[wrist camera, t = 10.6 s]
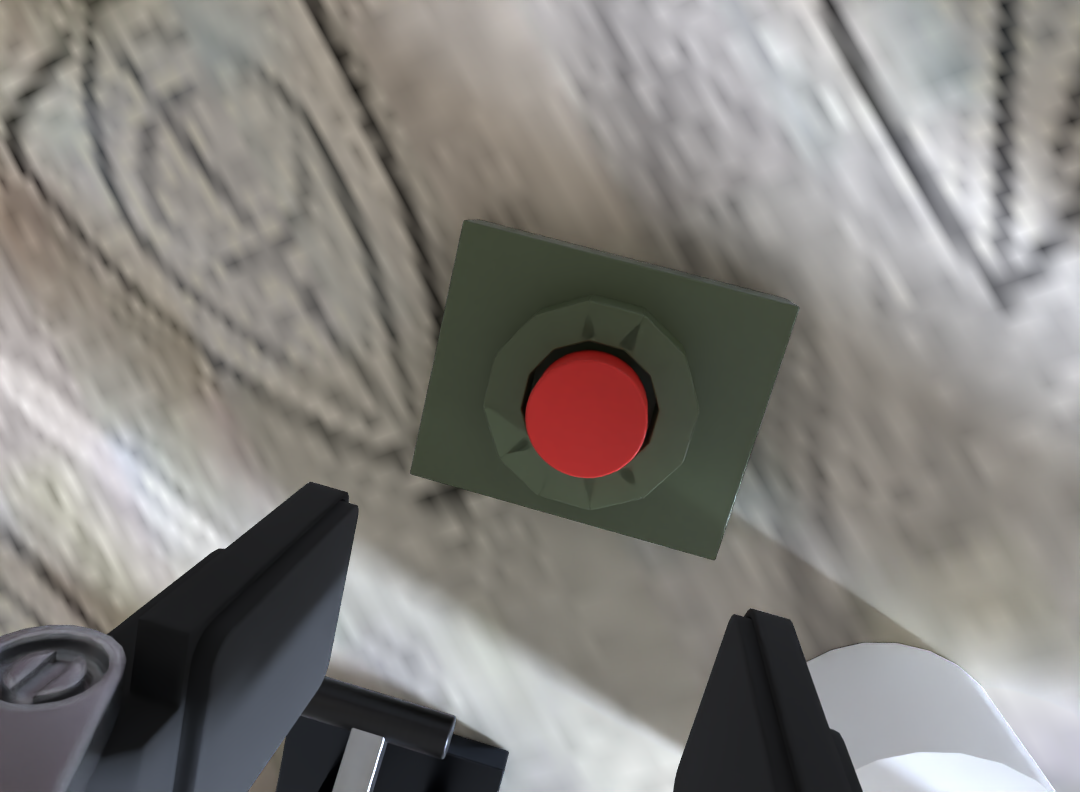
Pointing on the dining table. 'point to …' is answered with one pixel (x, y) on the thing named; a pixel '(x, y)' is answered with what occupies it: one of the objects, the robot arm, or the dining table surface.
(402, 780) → the switch bracket
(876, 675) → the cylinder with rectangular tab
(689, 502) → the button housing
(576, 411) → the red button
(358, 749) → the switch lever
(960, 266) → the dining table surface
